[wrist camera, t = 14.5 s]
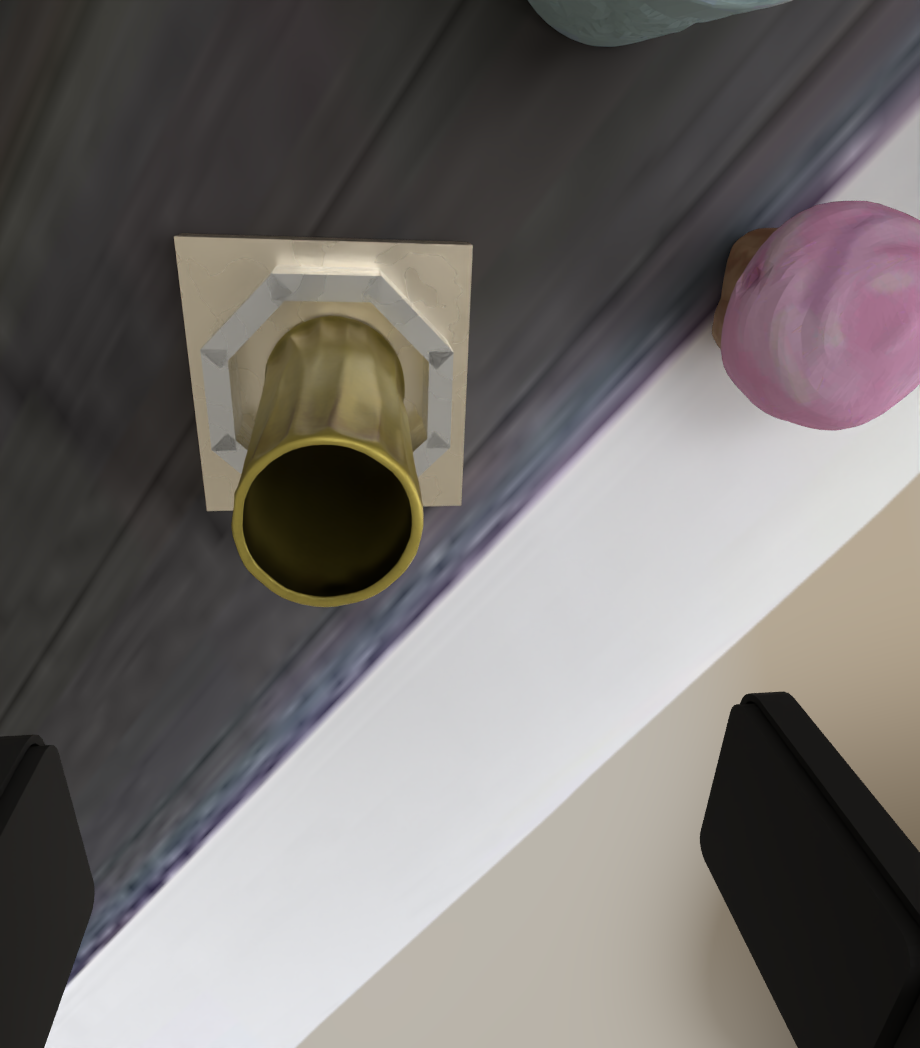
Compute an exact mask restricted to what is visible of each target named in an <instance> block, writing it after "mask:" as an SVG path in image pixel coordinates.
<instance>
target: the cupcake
mask: <svg viewBox="0 0 920 1048" xmlns="http://www.w3.org/2000/svg"><path fill="white" fill-rule="evenodd" d="M712 335H713V338H714V340H715V342H716V343H717V345H718V346H719V348H720V349H721V354H722V361H723V365H724V368H725V370H726V372H727V374H728V376H729V377H730V378H731V380H732V381H733V382H734V384H735V385H736V386H737V387H738V388H739V389H740V390H741V391H742V393H743V394H744V395H745V396H746V397H747V398H748V399H749V400H750V401H751V402H752V403H753V404H754V405H755V406H757V407H758V408H759V409H761V410H762V411H764V412H765V413H767V414H769V415H771V416H773V417H776V418H779V419H781V420H785V421H789V422H792V423H795V424H798V425H801V426H805V427H809V428H813V429H819V430H841V429H846V428H851V427H856V426H859V425H862V424H865V423H867V422H869V421H870V420H872V419H874V418H876V417H878V416H880V415H881V414H883V413H885V412H886V411H887V410H889V409H890V408H891V407H893V406H894V405H895V404H897V403H898V402H899V401H901V400H902V399H903V398H904V397H906V396H907V395H908V394H909V393H910V392H912V391H913V390H914V389H915V388H916V387H917V386H918V385H919V384H920V220H918V219H916V218H914V217H912V216H910V215H908V214H906V213H903V212H901V211H898V210H895V209H892V208H890V207H887V206H884V205H881V204H878V203H873V202H868V201H838V202H830V203H824V204H819V205H816V206H813V207H811V208H809V209H806V210H804V211H802V212H800V213H798V214H797V215H795V216H794V217H792V218H791V219H789V220H788V221H786V222H785V223H784V224H783V225H781V226H780V227H779V228H761V229H756V230H753V231H750V232H748V233H747V234H745V235H744V236H742V237H741V238H740V239H738V240H737V241H736V242H735V244H734V245H733V247H732V249H731V251H730V255H729V258H728V260H727V265H726V270H725V275H724V280H723V286H722V294H721V298H720V301H719V303H718V306H717V308H716V310H715V314H714V321H713V325H712Z"/></svg>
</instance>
